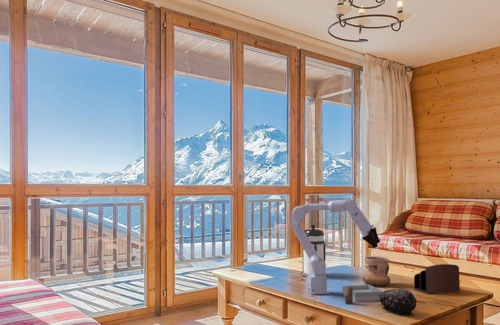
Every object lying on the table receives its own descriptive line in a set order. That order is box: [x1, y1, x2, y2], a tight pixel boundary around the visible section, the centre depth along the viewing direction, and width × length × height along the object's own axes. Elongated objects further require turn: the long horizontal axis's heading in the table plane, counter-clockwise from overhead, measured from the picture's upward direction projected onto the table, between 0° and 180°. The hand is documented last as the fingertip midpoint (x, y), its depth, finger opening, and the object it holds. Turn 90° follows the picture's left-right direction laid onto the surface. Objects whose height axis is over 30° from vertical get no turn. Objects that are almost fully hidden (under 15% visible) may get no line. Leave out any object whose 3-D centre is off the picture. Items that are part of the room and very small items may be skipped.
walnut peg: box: [344, 287, 354, 305], centre depth 189 cm, size 3×3×7 cm
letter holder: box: [413, 263, 461, 295], centre depth 213 cm, size 10×20×14 cm, turn 107°
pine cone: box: [379, 288, 417, 316], centre depth 177 cm, size 10×18×10 cm, turn 34°
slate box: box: [342, 284, 384, 303], centre depth 200 cm, size 14×14×4 cm
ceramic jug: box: [361, 255, 392, 287], centre depth 226 cm, size 18×14×14 cm
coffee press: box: [300, 224, 326, 277], centre depth 248 cm, size 17×16×30 cm
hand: (377, 245), depth 204 cm, fingers open, 7 cm apart
